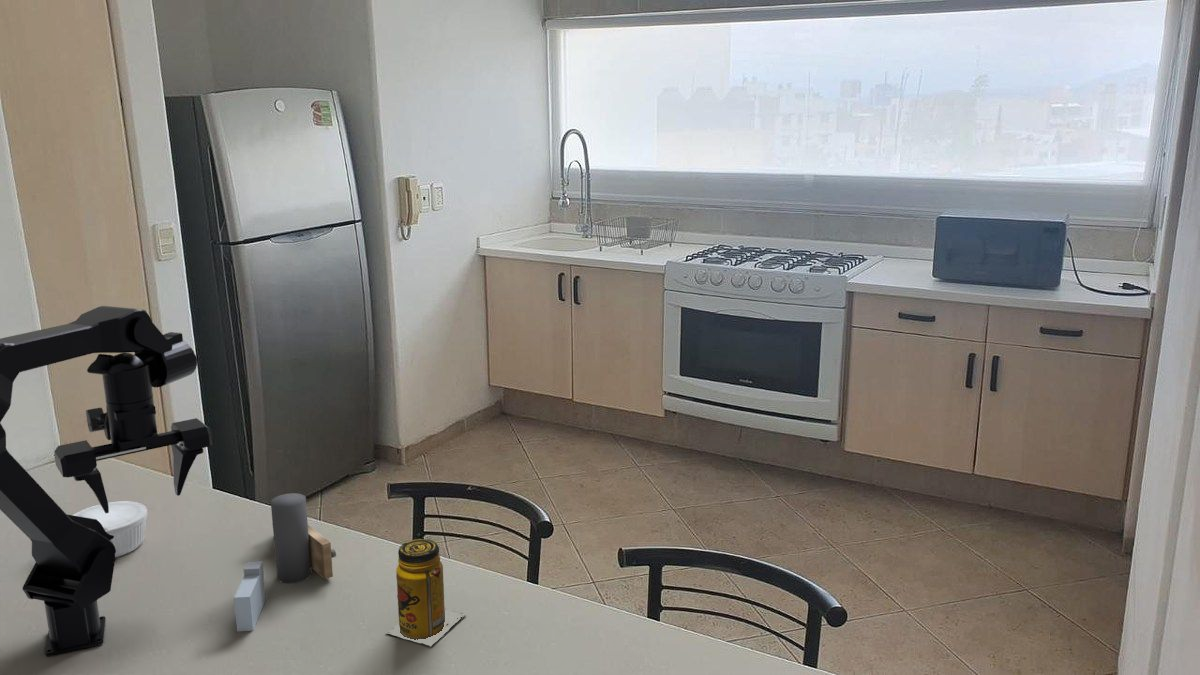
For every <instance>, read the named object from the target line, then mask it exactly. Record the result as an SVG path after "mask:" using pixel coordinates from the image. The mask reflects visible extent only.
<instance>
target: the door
mask: <svg viewBox="0 0 1200 675" xmlns="http://www.w3.org/2000/svg"><path fill="white" fill-rule="evenodd" d="M308 534H309V547H310V560H311V569H313V571H315V572H316V573H317V574H318V575H319V576H321V577H322V578H323V579H324V580H327V579H330V578H333V576H334V573H333V561H332V560H333V559H334V558H335V557H337V552H336V549H334V548H332V544H331V541H329V540H328V539H327V538H325V537H324V536H323V535H322V534H320V533H319V532H318V531H316V529H315V528H313V527H311V526H310V525H309V524H308ZM332 558H333V559H332Z"/></svg>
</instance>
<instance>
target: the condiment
mask: <svg viewBox="0 0 1200 675" xmlns="http://www.w3.org/2000/svg"><path fill="white" fill-rule="evenodd" d="M397 552H398V553H397V554H398V559H397V562H398V565H397V566H396V571H395V572H396V576H395V577H396V590H397V593H396V594H397V595H396V597H397V610H398V611H397V612H398V615H397V616H398V623H399V627H400V633H401V634H402V635H403V636H404V637H407V638H410V639H414V640H416V639H417V640H418V639H426V638H428V637H431V636H433V635H436V634H437V633H439V632H440V631H442V629H443V627H444V622H445V609H446V607H445V588H444V587H445V586H444V565H443V563H442V562H441V556H440V547H439V545H438V544H437V542H435V541H434V540H431V539H428V538H427V539H426V538H417V539H411V540H408V541H406V542H403V543H402V544H401V545H400V546H399V549H398V551H397ZM466 615H467V613H466V614H465V616H466ZM465 616H463V615H462V619H463V618H464V617H465ZM460 618H461V617H460ZM457 619H458V618H457Z"/></svg>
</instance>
